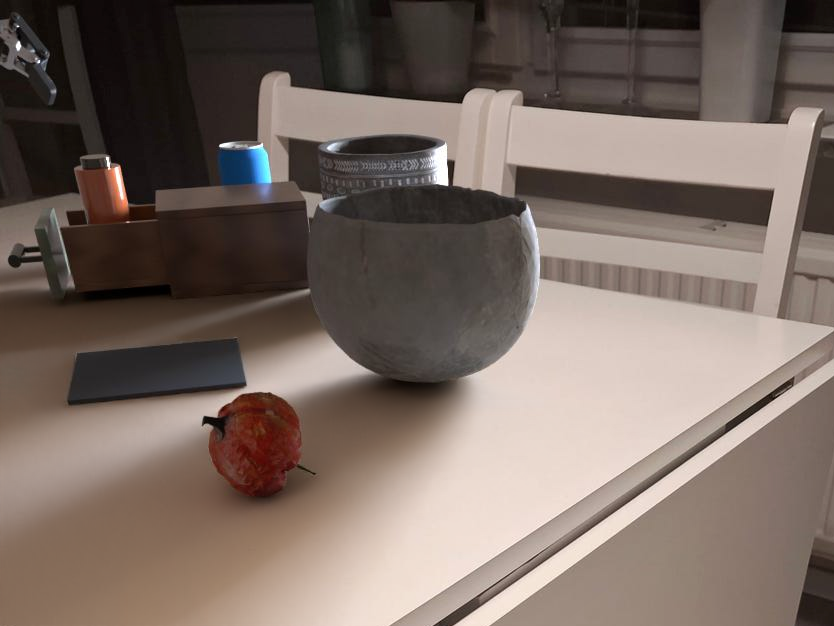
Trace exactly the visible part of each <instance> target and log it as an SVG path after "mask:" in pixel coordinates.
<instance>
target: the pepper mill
mask: <svg viewBox="0 0 834 626" xmlns="http://www.w3.org/2000/svg"><path fill="white" fill-rule="evenodd" d="M79 161H80V165H77V166H75V167H74V168H73V171H74V175H75V179H76V184H77V188H78V191H79V192H78V193H79V196H80V200H81V205H82V209H84V213H85V217H86V221H87V225H88V224H102V223H115V222H129V221H132V220H131V215H130V210H129V206H130V205H129V202H128V196H127V192H126V188H125V183H124V178H123V172H122V169H121V165H120V164H119V163H114V162H112V161H111V156H110V155H109V154H104V153H99V154H88V155H87V154H86V155H83V156H80V157H79Z"/></svg>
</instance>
